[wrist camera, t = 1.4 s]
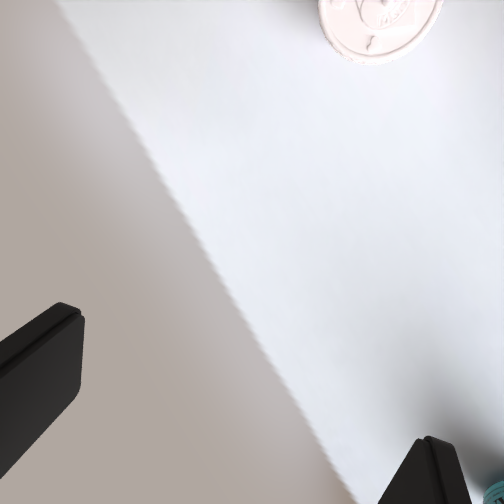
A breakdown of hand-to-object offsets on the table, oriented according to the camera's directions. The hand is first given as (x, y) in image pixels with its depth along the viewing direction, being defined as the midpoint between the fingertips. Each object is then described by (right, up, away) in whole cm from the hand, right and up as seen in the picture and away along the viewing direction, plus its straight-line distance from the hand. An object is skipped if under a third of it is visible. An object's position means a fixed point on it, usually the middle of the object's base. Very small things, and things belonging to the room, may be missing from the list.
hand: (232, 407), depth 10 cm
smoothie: (+9, +21, +18) cm, 29 cm away
